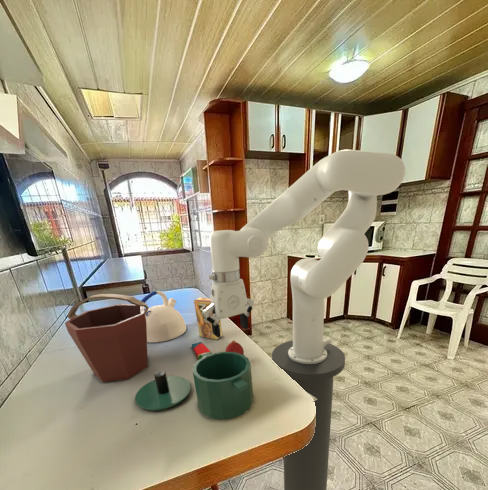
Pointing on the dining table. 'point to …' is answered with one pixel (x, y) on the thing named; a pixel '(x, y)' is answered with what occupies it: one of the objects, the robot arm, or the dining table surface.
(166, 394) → the lid
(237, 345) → the onion
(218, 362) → the green cooking pot
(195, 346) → the popsicle
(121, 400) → the dining table surface
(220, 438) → the dining table surface
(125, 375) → the bucket
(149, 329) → the kettle
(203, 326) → the candy box
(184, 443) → the dining table surface
